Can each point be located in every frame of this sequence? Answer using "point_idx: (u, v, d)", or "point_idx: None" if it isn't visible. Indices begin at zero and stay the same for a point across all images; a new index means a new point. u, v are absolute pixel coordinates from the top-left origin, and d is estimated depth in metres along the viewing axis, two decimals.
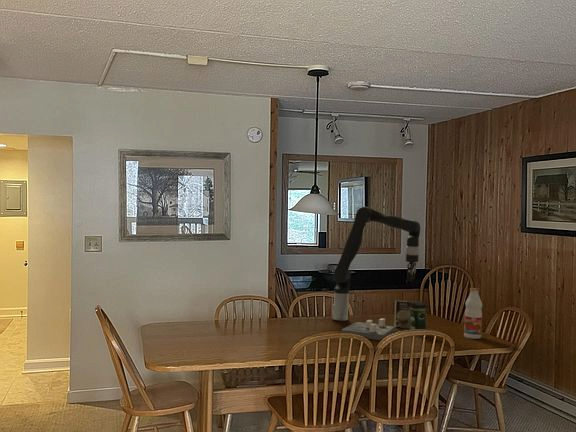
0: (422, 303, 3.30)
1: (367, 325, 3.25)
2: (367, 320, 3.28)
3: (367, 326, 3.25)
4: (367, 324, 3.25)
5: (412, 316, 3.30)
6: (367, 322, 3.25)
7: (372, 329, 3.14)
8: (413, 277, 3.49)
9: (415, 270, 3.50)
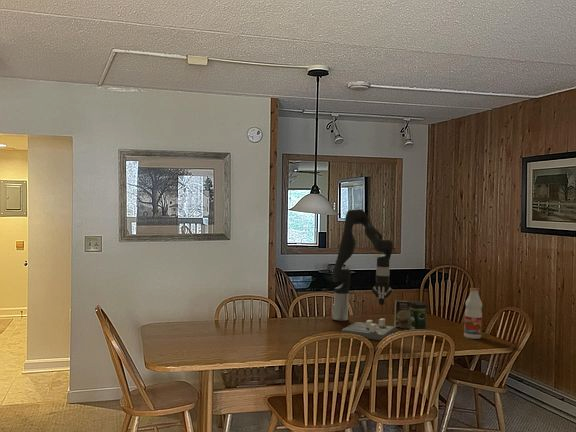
0: (422, 303, 3.30)
1: (367, 325, 3.25)
2: (367, 320, 3.28)
3: (367, 326, 3.25)
4: (367, 324, 3.25)
5: (412, 316, 3.30)
6: (367, 322, 3.25)
7: (372, 329, 3.14)
8: None
9: None
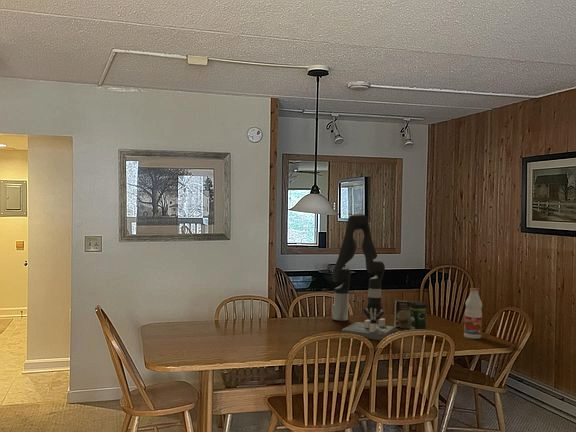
0: (422, 303, 3.30)
1: (365, 325, 3.25)
2: (365, 320, 3.28)
3: (365, 326, 3.25)
4: (365, 324, 3.25)
5: (412, 316, 3.30)
6: (365, 322, 3.25)
7: (372, 329, 3.14)
8: (373, 323, 3.27)
9: None
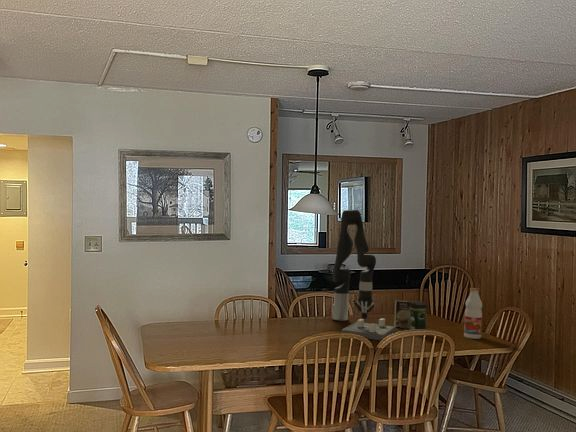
0: (422, 303, 3.30)
1: (359, 324, 3.27)
2: (359, 319, 3.30)
3: (359, 325, 3.27)
4: (359, 323, 3.27)
5: (412, 316, 3.30)
6: (359, 321, 3.27)
7: (372, 329, 3.14)
8: None
9: None
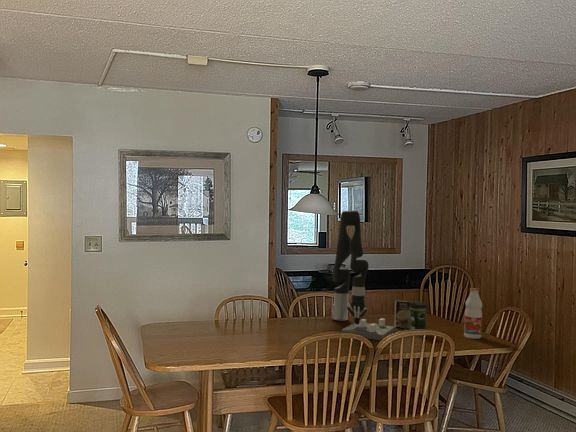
0: (422, 303, 3.30)
1: (361, 324, 3.27)
2: (361, 319, 3.29)
3: (361, 325, 3.27)
4: (361, 323, 3.27)
5: (412, 316, 3.30)
6: (361, 321, 3.27)
7: (372, 329, 3.14)
8: None
9: None
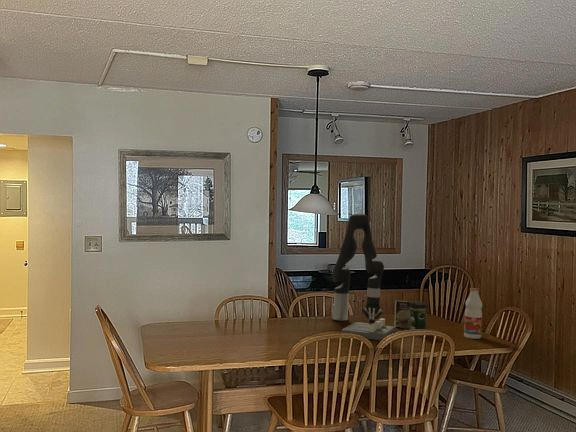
0: (422, 303, 3.30)
1: (376, 326, 3.23)
2: (376, 321, 3.25)
3: (376, 327, 3.23)
4: (376, 325, 3.23)
5: (412, 316, 3.30)
6: (376, 323, 3.23)
7: (372, 329, 3.14)
8: None
9: (368, 314, 3.28)
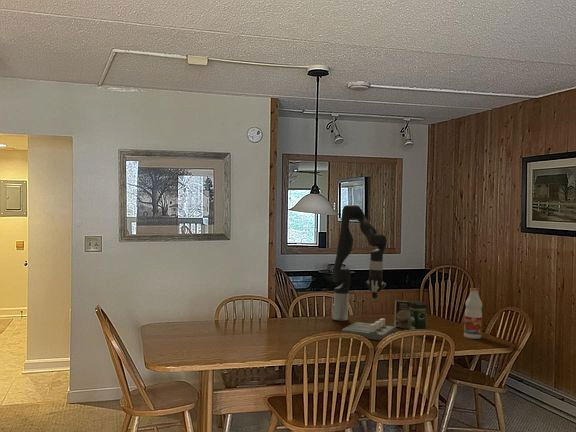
0: (422, 303, 3.30)
1: (376, 326, 3.23)
2: None
3: (376, 327, 3.23)
4: (376, 325, 3.23)
5: (412, 316, 3.30)
6: (376, 323, 3.23)
7: (372, 329, 3.14)
8: None
9: (371, 287, 3.32)
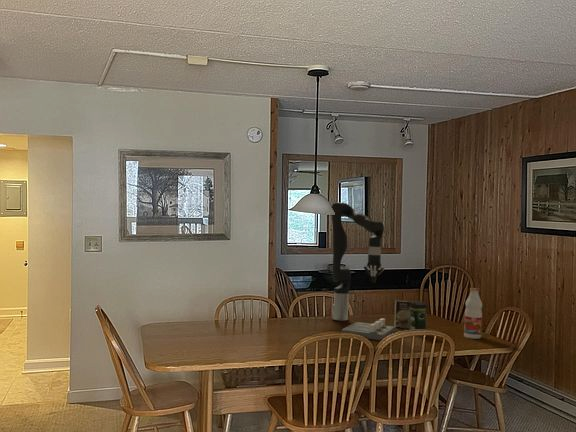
0: (422, 303, 3.30)
1: (376, 326, 3.23)
2: None
3: (376, 327, 3.23)
4: (376, 325, 3.23)
5: (412, 316, 3.30)
6: (376, 323, 3.23)
7: (372, 329, 3.14)
8: None
9: (370, 272, 3.48)
